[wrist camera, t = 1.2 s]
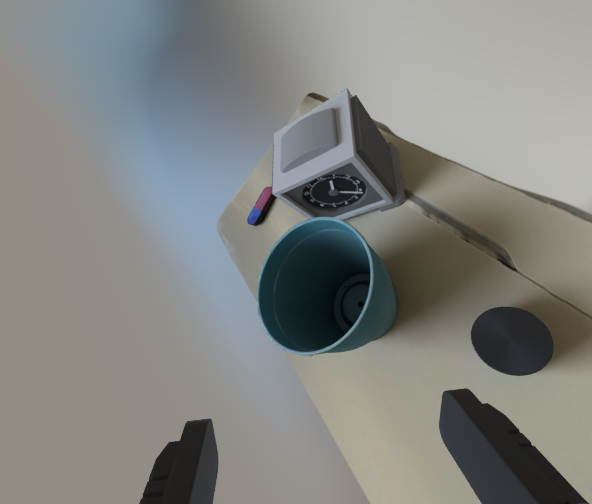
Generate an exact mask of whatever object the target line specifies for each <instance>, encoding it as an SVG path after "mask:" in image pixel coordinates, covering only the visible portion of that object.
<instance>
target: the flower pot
mask: <svg viewBox="0 0 592 504" xmlns="http://www.w3.org/2000/svg"><path fill="white" fill-rule="evenodd" d="M346 283H348V284H349V285H348V287H346V286H345V284H346ZM359 302H363V306H362V307H359V306H358V303H359ZM257 308H258V314H259V317H260V321H261V323H262V325H263V328H264V330H265V331H266V333H267V334H268V336H269V337H270V339H271V340H272V341H273V342H274V343H275V344H276V345H278V346H279V347H280V348H282V349H284V350H285V351H288V352H290V353H293V354H297V355H317V354H321V353H335V352H345V351H350V350H353V349H356V348H359V347H361V346H363V345H365V344H367V343H369V342H370V341H373V340H376V339H378V338H380V337H381V336H383V335H384V334H385V333H386V332H387V331H388V330H389V329H390V328H391V326H392V325H393V323H394V321H395V319H396V315H397V311H398V300H397V295H396V292H395V290H394V288H393V285H392V281H391V278H390V275H389V273H388V271H387V269H386V267H385V265H384V263H383V262H382V260H381V259H380V258H379V256H378V255H377V254H376V253H375V252H374V251H373V249H372V248H371V247H370V246H369V245H368V244H367V242H366V240H365V239H364V237H363V236H362V235H361V234H360V233H359V232H358V231H357V230H356V229H355V228H354V227H353V226H352V225H350V224H349V223H347V222H345V221H343V220H340V219H337V218H333V217H316V218H312V219H309V220H306V221H303V222H301V223H299V224H297V225H296V226H294V227H293V228H291V229H290V230H288V231H287V232H286V233H285V234H284V235H283V236H282V237H281V238H280V239H279V240H278V241H277V242H276V243H275V245H274V246H273V248H272V249H271V251H270V252H269V254H268V256H267V258H266V260H265V262H264V264H263V266H262V269H261V272H260V276H259V280H258V286H257Z"/></svg>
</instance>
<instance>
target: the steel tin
mask: <svg viewBox="0 0 592 504" xmlns="http://www.w3.org/2000/svg"><path fill="white" fill-rule="evenodd" d="M471 340H472V344H473V347H474V349H475V351H476V353H477V354H478V356H479V357H480V358H481V359H482V360H483V361H484V362H485V363H486V364H487V365H488V366H490V367H491V368H493V369H495V370H497V371H499V372H502V373H505V374H509V375H516V376H522V375H529V374H533V373H536V372H538V371H539V370H541V369H542V368H544V367H545V366H546V365H547V364H548V362H549V361H550V359H551V357H552V353H553V340H552V337H551V334H550V332H549V330H548V329H547V327H546V326H545V325H544V324H543V323H542V322H541V321H540V320H539V319H538V318H537V317H536V316H534V315H532V314H531V313H529V312H527V311H525V310H522V309H519V308H514V307H497V308H493V309H490V310H488V311H486V312H484V313H482V314H481V315H480V316H479V317H478V318H477V319H476V321H475V322H474V324H473V327H472V330H471Z"/></svg>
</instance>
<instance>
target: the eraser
mask: <svg viewBox="0 0 592 504" xmlns="http://www.w3.org/2000/svg"><path fill="white" fill-rule="evenodd" d="M274 198H275V196H274V195H273V194H272V187H271V186H270V187H266V188H265V189H264V190H263V191H262V193H261V195H260V197H259V198H258V200H257V202H256V205H255V206H254V208H253V209H252V211H251V213H250V215H249V217H248V219H247V221H248V223H249V224H251V225H255V226H257V225H259V224H260V223H261V222H262V220H263V218H264V216H265V215H266V213H267V211H268V209H269V207H270V206H271V204H272V202H273V200H274Z"/></svg>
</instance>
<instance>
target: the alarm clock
mask: <svg viewBox="0 0 592 504" xmlns="http://www.w3.org/2000/svg"><path fill="white" fill-rule="evenodd" d="M272 194H273V195H274V196H276V197H277V198H279V199H280V200H282V201H283V202H285V203H286V204H288V205H289V206H291V207H292V208H294V209H295V210H296V211H298V212H299V213H301V214H302V215H304V216H305V217H307V218H308V219H312V218H316V217H333V218H337V219H340V220H344V219H347V218H350V217H353V216H356V215H359V214H362V213H365V212H368V211H371V210H374V209H377V208H379V209H380V210H381V212H382V211H385V210H388V209H391V208H394V207H397V206H400V205H401V204H403V203H404V200H405V193H404V188H403V182H402V176H401V171H400V165H399V160H398V154H397V149H396V147H395V146H394V144H392V143H387V142H386V141H385V139H384V138H383V136H382V134H381V133H380V131H379V130H378V128H377V127H376V125H375V124H374V122H373V120H372V119H371V117H370V116H369V114H368V113H367V111H366V110H365V108H364V107H363V105H362V103H361V102H360V101H359V99H358V97H357V96H356V95H355V96H354V97H352V95H351V94H350V92H349V91H348V89H345V90H344V91H342V92H340V93H339V94H337V95H335V96H334V97H332V98H331V99H329V100H327V101H326V102H324V103H323V104H321V105H319V106H318V107H316V108H314V109H313V110H311V111H310V112H308V113H306V114H305V115H303V116H302V117H300V118H298V119H297V120H295V121H293V122H292V123H290V124H289V125H287V126H286V127H284V128H282V129H281V130H279V131H277V132H276V133H274V144H273V174H272Z"/></svg>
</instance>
